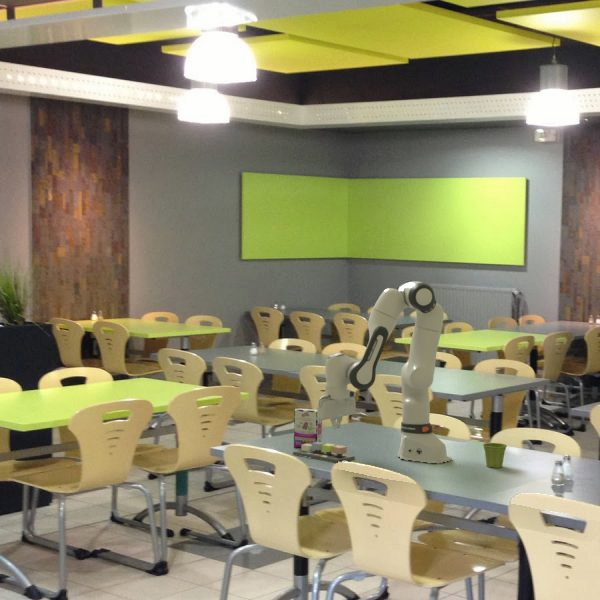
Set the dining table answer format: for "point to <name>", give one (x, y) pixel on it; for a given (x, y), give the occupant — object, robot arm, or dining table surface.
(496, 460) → the plant pot
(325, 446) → the lime green cube
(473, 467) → the dining table surface
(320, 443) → the key slate
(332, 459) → the keypad board
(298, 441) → the candy bar box
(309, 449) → the key ivory
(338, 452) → the salmon cube
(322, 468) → the dining table surface
